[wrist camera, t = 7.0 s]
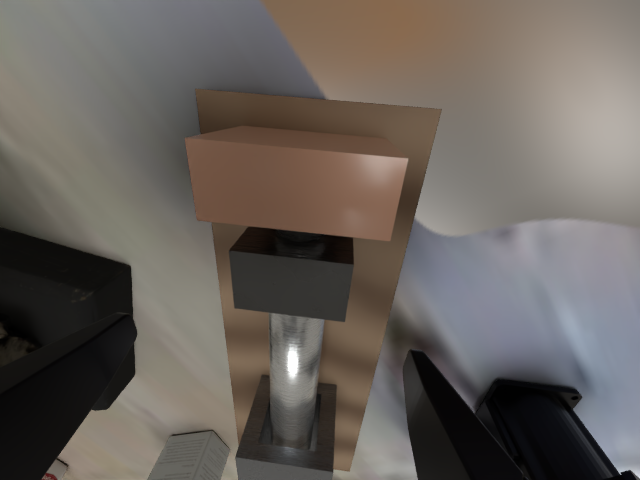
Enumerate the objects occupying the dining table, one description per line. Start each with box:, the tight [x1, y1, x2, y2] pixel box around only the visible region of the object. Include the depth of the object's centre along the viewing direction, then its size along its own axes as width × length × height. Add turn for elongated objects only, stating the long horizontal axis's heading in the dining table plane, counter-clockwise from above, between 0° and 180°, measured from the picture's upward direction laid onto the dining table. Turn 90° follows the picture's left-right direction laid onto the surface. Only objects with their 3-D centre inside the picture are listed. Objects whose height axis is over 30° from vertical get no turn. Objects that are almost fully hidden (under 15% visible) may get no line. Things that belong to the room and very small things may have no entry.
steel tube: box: [229, 226, 354, 450], centre depth 17 cm, size 21×5×5 cm, turn 176°
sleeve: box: [235, 375, 337, 480], centre depth 23 cm, size 12×6×6 cm, turn 176°
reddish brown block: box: [185, 126, 408, 241], centre depth 12 cm, size 3×7×6 cm, turn 86°
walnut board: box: [195, 89, 441, 472], centre depth 21 cm, size 35×12×1 cm, turn 176°
